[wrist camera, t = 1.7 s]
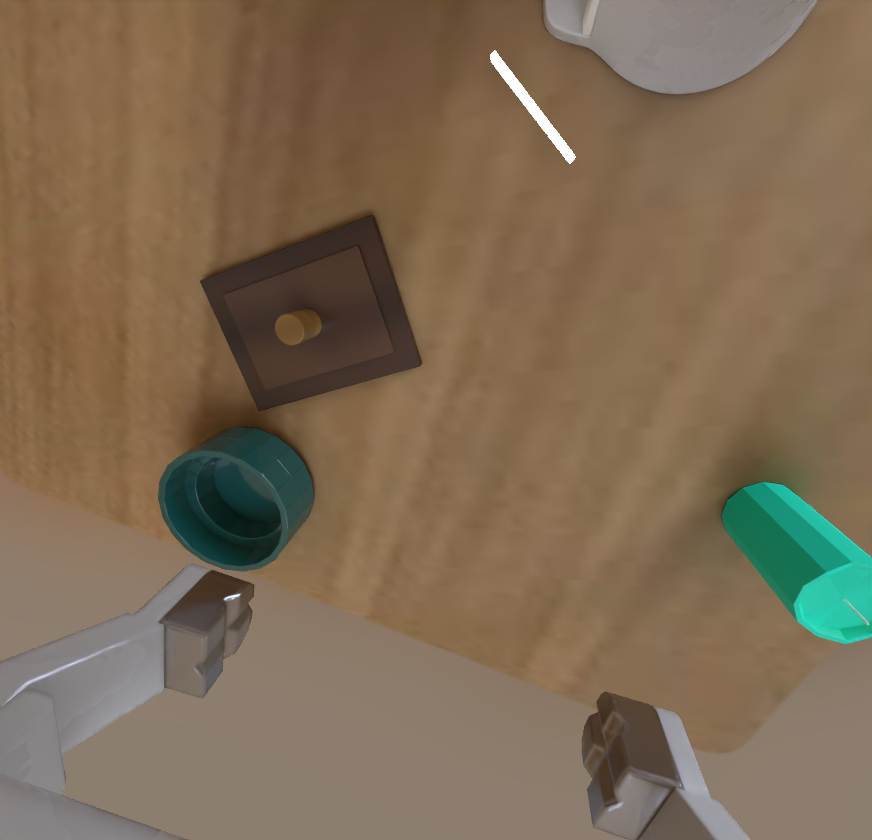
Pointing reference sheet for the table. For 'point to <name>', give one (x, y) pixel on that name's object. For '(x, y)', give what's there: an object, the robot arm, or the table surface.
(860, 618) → the candle
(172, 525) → the bowl
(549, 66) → the table surface
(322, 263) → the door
